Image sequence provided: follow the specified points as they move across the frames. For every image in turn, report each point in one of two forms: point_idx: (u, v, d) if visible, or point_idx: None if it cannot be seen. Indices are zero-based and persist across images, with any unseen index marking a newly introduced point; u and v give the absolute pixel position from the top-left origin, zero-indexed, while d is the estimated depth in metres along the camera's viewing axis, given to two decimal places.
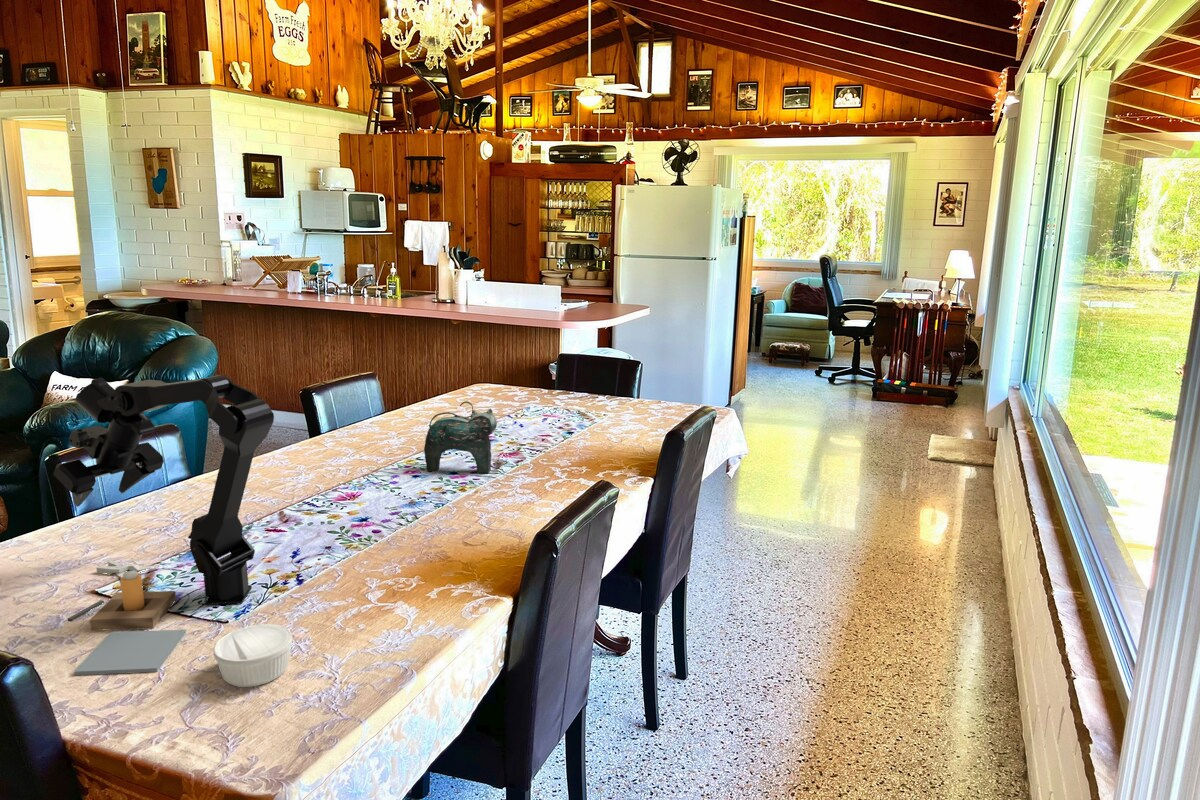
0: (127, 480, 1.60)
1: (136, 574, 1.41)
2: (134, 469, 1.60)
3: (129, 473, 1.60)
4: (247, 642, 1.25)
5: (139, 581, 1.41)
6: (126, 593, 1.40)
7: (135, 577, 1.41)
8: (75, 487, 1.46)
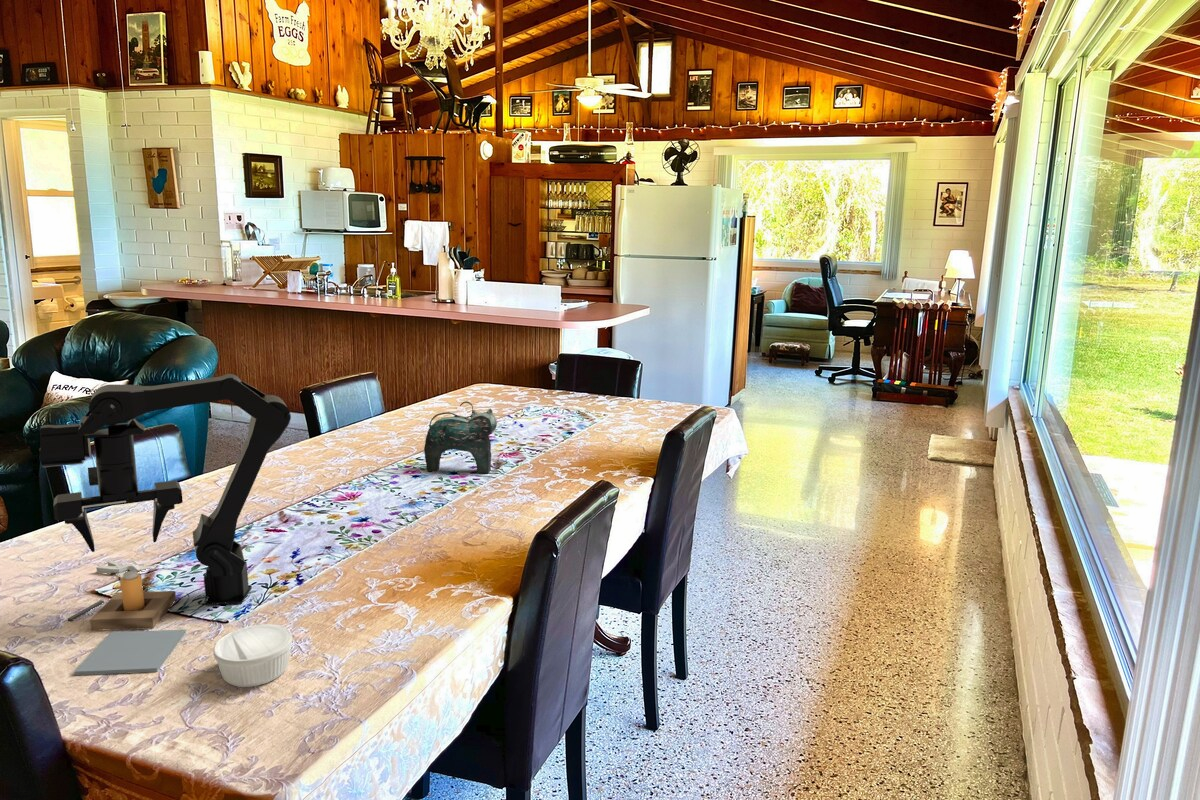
0: (153, 524, 1.42)
1: (136, 574, 1.41)
2: (154, 508, 1.41)
3: (153, 515, 1.42)
4: (247, 642, 1.25)
5: (139, 581, 1.41)
6: (126, 593, 1.40)
7: (135, 577, 1.41)
8: (56, 512, 1.31)
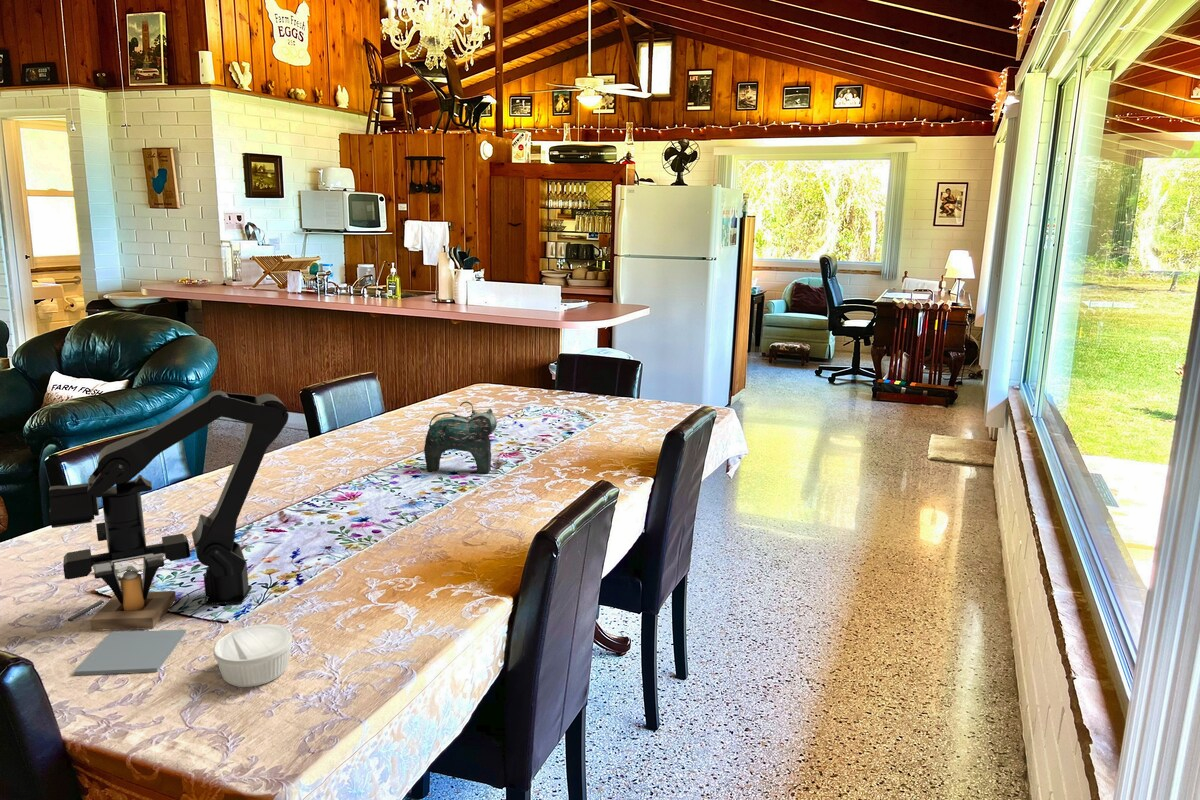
0: (143, 581, 1.42)
1: (136, 574, 1.41)
2: (144, 565, 1.42)
3: (143, 572, 1.42)
4: (247, 642, 1.25)
5: (139, 581, 1.41)
6: (126, 593, 1.40)
7: (135, 577, 1.41)
8: (66, 571, 1.33)
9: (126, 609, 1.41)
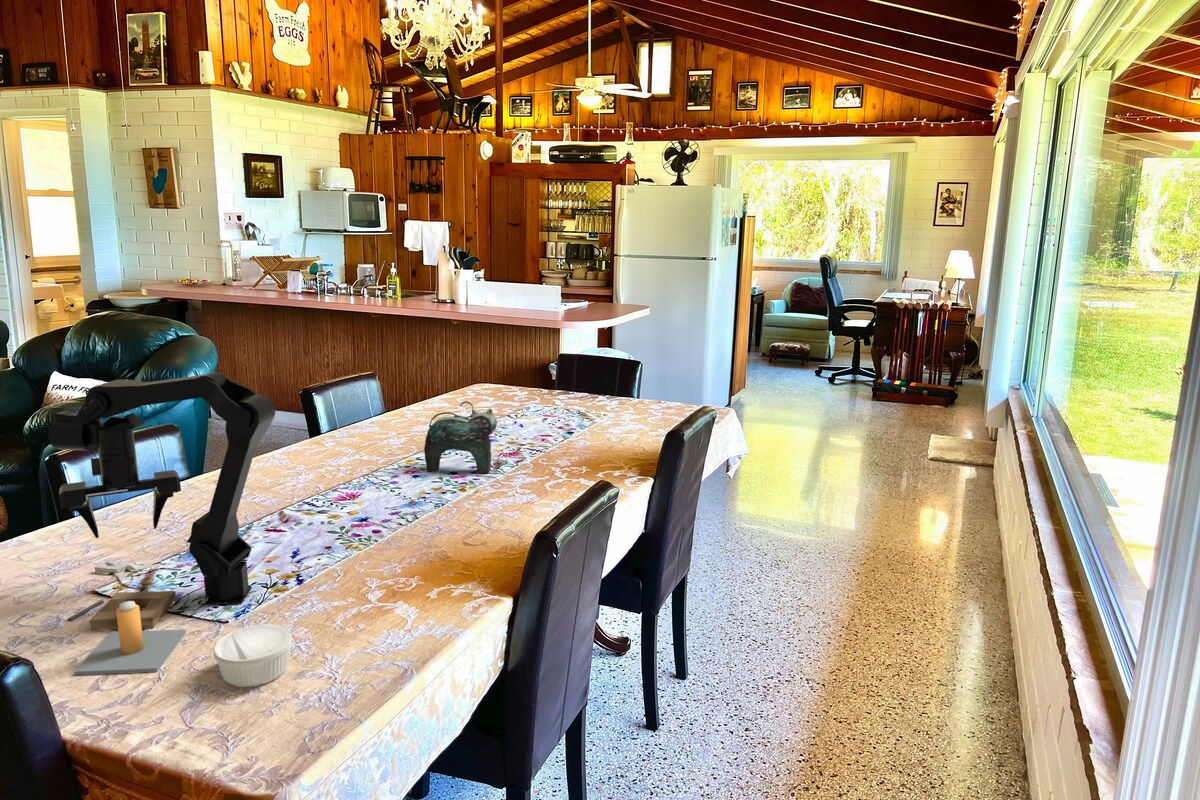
0: (153, 511, 1.50)
1: (133, 605, 1.29)
2: (154, 496, 1.49)
3: (154, 503, 1.50)
4: (247, 642, 1.25)
5: (137, 613, 1.29)
6: (123, 626, 1.28)
7: (132, 608, 1.29)
8: (61, 500, 1.39)
9: (122, 643, 1.29)
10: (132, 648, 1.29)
